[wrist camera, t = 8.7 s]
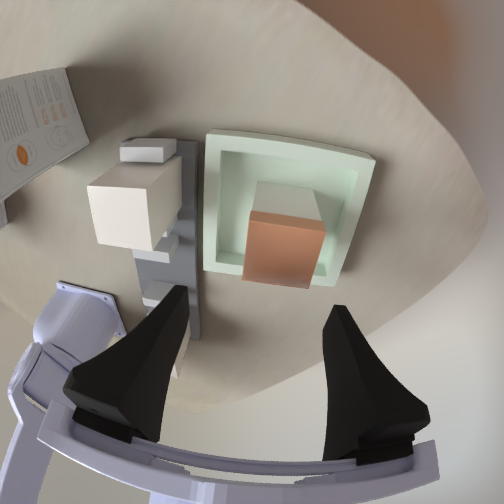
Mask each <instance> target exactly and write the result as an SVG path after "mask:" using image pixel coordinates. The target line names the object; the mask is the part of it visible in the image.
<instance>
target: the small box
mask: <svg viewBox="0 0 504 504" xmlns="http://www.w3.org/2000/svg"><path fill="white" fill-rule="evenodd" d="M89 143H90V142H89V139H88V137H87V134H86V131H85V129H84V126H83V123H82V121H81V118H80V115H79V112H78V109H77V106H76V103H75V100H74V97H73V94H72V90H71V87H70V84H69V81H68V77H67V74H66V70H65V68H56V69H49V70H43V71H37V72H32V73H28V74H23V75H18V76H14V77H10V78H6V79H2V80H0V203H1V202H2V201H4V200H5V199H6V198H8V197H9V196H10V195H12V194H13V193H14V192H16V191H17V190H19V189H20V188H22V187H23V186H24V185H26V184H27V183H29V182H30V181H32V180H33V179H35V178H36V177H38V176H39V175H41V174H42V173H44V172H45V171H47V170H48V169H50V168H51V167H53V166H55V165H56V164H58V163H59V162H61V161H63V160H64V159H66V158H67V157H69V156H71V155H72V154H74V153H75V152H77V151H79V150H80V149H82V148H83V147H85V146H87V145H88V144H89Z"/></svg>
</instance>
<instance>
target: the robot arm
mask: <svg viewBox="0 0 504 504" xmlns="http://www.w3.org/2000/svg"><path fill="white" fill-rule="evenodd" d="M56 286H57V288H58V289H57V290H56V292H55V293H54V294H53V296H52V297H51V299H50V300H49V301H48V303H47V304H46V306H45V307H44V309H43V310H42V311H41V313H40V314H39V316H38V317H37V319H36V322H35V325H34V330H33V338H34V342H35V343H31V344H30V345H29V347H28V348H27V349H26V351H25V352H24V354H23V355H22V357H21V359H20V360H19V362H18V364H17V366H16V368H15V370H14V373H13V375H12V379H11V381H10V383H9V385H8V398H9V401H10V403H11V405H12V407H13V409H14V411H15V413H16V416H17V418H18V420H19V422H18V424H17V427H16V429H15V432H14V434H13V437H12V440H11V442H10V445H9V448H8V450H7V453H6V456H5V459H4V463H3V465H2V469H1V472H0V504H36V503H37V499H38V496H39V492H40V489H41V486H42V483H43V479H44V476H45V473H46V470H47V467H48V465H49V462H50V459H51V456H52V453H53V451H54V450H56V451H58V452H60V453H61V454H63V455H65V456H67V457H68V458H70V459H72V460H74V461H76V462H78V463H80V464H82V465H84V466H86V467H88V468H90V469H92V470H94V471H96V472H99V473H101V474H103V475H105V476H108V477H110V478H113V479H115V480H118V481H120V482H123V483H126V484H128V485H131V486H134V487H137V488H140V489H143V490H146V491H149V492H151V496H150V501H149V504H357V503H362V502H367V501H371V500H376V499H380V498H384V497H387V496H391V495H394V494H398V493H401V492H405V491H408V490H411V489H414V488H417V487H420V486H423V485H426V484H428V483H431V482H434V481H437V480H439V478H440V475H439V468H438V459H437V453H436V447H435V441H434V440H430V441H427V442H423V443H419V444H416V445H414V446H413V445H412V441H414V440H415V436H414V434H415V433H416V432H418V431H420V430H421V429H423V428H424V427H426V426H427V425H428V424H429V423H430V415H429V411H428V407H427V405H426V404H425V403H423V402H422V401H421V400H419V399H418V398H417V397H416V396H414V395H413V394H412V393H411V392H409V391H408V390H407V389H406V388H405V387H404V386H403V385H402V384H401V383H400V382H399V381H398V380H397V379H396V378H395V377H394V376H393V375H392V374H391V373H390V372H389V370H388V369H387V368H386V367H385V365H384V364H383V363H382V362H381V361H380V359H379V358H378V357H377V355H376V354H375V353H374V351H373V350H372V348H371V347H370V345H369V344H368V342H367V341H366V339H365V337H364V336H363V334H362V333H361V331H360V329H359V328H358V326H357V324H356V323H355V321H354V319H353V317H352V316H351V314H350V312H349V311H348V309H347V307H346V306H344V305H334V306H333V308H332V311H331V313H330V315H329V317H328V319H327V322H326V324H325V326H324V328H323V355H324V362H325V370H326V379H327V388H328V411H327V428H326V439H325V446H324V453H323V459H322V461H315V462H314V461H313V462H278V461H276V462H275V461H258V460H246V459H237V458H228V457H221V456H214V455H208V454H202V453H197V452H192V451H186V450H182V449H178V448H173V447H169V446H165V445H161V444H157V442H158V441H159V439H160V431H161V423H162V417H163V411H164V405H165V400H166V394H167V390H168V385H169V381H170V376H171V372H172V369H173V366H174V363H175V360H176V358H177V355H178V352H179V349H180V347H181V344H182V341H183V338H184V335H185V333H186V329H187V325H188V320H189V316H190V309H189V298H188V286H183V285H177V284H176V285H174V286H173V287H172V289H171V290H170V291H169V292H168V293H167V295H166V296H165V297H164V298H163V299H162V300H161V301H160V303H159V304H158V305H157V306H156V307H155V308H154V309H153V310H152V311H151V312H150V313H149V314H148V315H147V316H146V317H145V318H144V319H143V320H142V321H141V322H140V323H139V324H138V325H137V326H136V327H135V328H134V329H133V330H132V331H130V332H129V333H128V334H127V333H126V331H125V328H124V325H123V323H122V320H121V317H120V314H119V312H118V309H117V306H116V303H115V300H114V297H113V296H112V295H110V294H105V293H101V292H97V291H93V290H89V289H85V288H81V287H78V286H74V285H70V284H66V283H63V282H59V281H58V282H57V283H56ZM113 335H117V336H121V337H123V338H122V339H120V340H119V341H118V342H116V343H115V344H114V345H112V346H111V347H109V348H108V349H107V347H108V345H109V343H110V341H111V339H112V337H113ZM23 392H24V393H25V394H26V395H28V396H29V397H30V398H32V399H33V400H34V401H36V402H37V403H39V404H40V405H41V406H43V407H44V408H46V409H47V412H46V413H45V412H43V411H42V410H41V409H39V408H38V407H36V406H35V405H34V404H32V403H31V402H29V401H28V400H27V399H26V398H25V396H24V393H23ZM157 458H159V459H157ZM160 459H163V460H167V461H171V462H175V463H180V464H184V465H189V466H194V467H199V468H205V469H211V470H217V471H225V472H233V473H242V474H255V475H272V476H274V475H276V476H306V475H322V476H314V477H305V478H304V479H303V480H299V481H295V482H294V484H271V483H253V482H241V481H231V480H222V479H214V478H206V477H200V476H193V475H190V472H189V471H187V470H184V467H183V466H179V465H176V464H173V463H169V462H166V461H163V460H160ZM326 474H329V475H326Z"/></svg>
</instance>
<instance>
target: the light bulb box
mask: <svg viewBox="0 0 504 504" xmlns="http://www.w3.org/2000/svg"><path fill="white" fill-rule="evenodd" d="M7 224H8V220H7V215H6V209H5V203H4V201H2V202H1V203H0V230H1V229H2V228H3V227H5V226H6V225H7Z"/></svg>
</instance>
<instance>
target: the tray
mask: <svg viewBox="0 0 504 504" xmlns="http://www.w3.org/2000/svg"><path fill="white" fill-rule="evenodd" d="M375 162H376V161H375V160H374V159H373V158H372V157H371V156H370V155H369V154H367V153H365V152H361V151H357V150H352V149H348V148H344V147H339V146H334V145H330V144H325V143H320V142H314V141H309V140H303V139H297V138H291V137H285V136H278V135H270V134H263V133H254V132H245V131H235V130H223V129H212V130H211V131H210V132H208V133H207V134H206V147H205V171H204V208H203V270H206V271H213V272H220V273H227V274H234V275H241V276H242V274H243V265H244V257H245V248H246V239H247V231H248V222H249V217H250V212H251V210H252V206H253V201H254V196H255V191H256V185H257V181H261V182H269V183H276V184H282V185H289V186H295V187H301V188H307V189H313V192H314V196H315V199H316V203H317V206H318V209H319V213H320V216H321V220H322V221H323V223H324V226H325V230H326V234H325V238H324V241H323V244H322V248H321V251H320V254H319V258H318V261H317V264H316V267H315V270H314V273H313V276H312V280H311V283H310V284H312V285H321V286H330V287H335V284H336V282H337V279H338V277H339V274H340V271H341V269H342V266H343V263H344V261H345V258H346V255H347V252H348V250H349V247H350V244H351V241H352V238H353V235H354V232H355V229H356V226H357V223H358V220H359V217H360V214H361V211H362V208H363V204H364V201H365V198H366V195H367V191H368V188H369V184H370V181H371V177H372V174H373V170H374V166H375Z"/></svg>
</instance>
